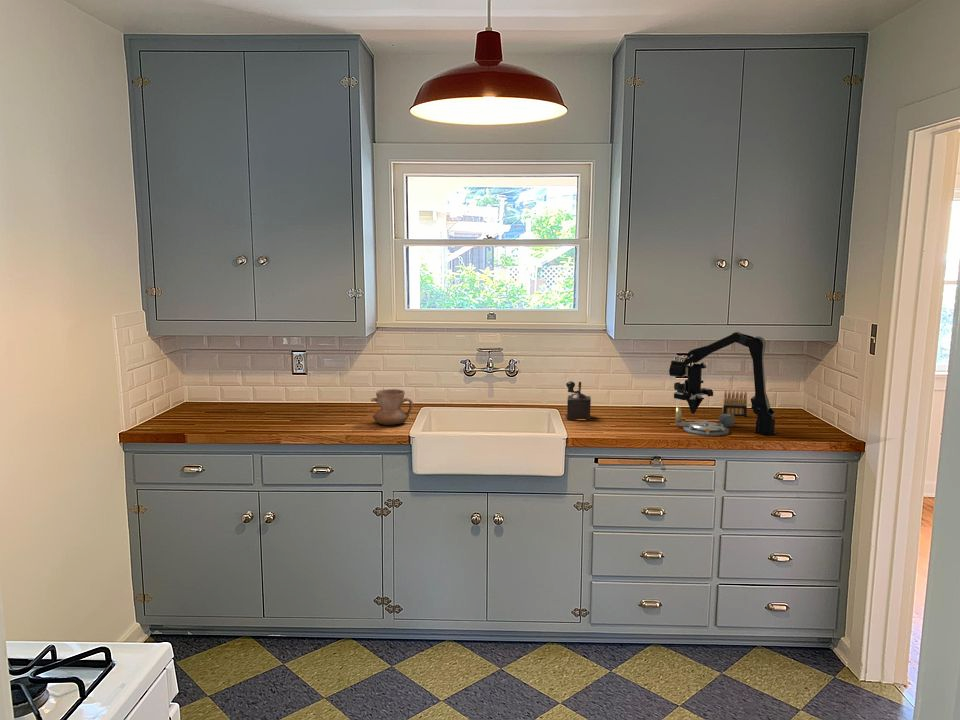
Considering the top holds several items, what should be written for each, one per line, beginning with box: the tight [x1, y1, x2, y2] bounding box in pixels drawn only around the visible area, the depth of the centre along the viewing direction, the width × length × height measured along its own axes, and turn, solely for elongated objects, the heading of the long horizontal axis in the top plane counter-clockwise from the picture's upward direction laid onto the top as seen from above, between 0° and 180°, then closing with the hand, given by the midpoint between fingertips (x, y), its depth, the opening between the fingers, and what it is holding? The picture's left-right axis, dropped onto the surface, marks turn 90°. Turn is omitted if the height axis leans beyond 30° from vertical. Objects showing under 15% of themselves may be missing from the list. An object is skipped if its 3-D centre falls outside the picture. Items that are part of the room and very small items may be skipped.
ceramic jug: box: [370, 388, 414, 426], centre depth 299 cm, size 18×14×14 cm
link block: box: [718, 413, 735, 428], centre depth 298 cm, size 3×6×5 cm, turn 122°
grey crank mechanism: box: [674, 406, 726, 432], centre depth 290 cm, size 20×15×7 cm
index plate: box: [683, 426, 730, 437], centre depth 289 cm, size 18×18×1 cm
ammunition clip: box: [721, 389, 748, 417], centre depth 317 cm, size 11×2×12 cm, turn 83°
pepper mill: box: [565, 380, 592, 420], centre depth 309 cm, size 16×11×18 cm
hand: (692, 413), depth 300 cm, fingers closed
